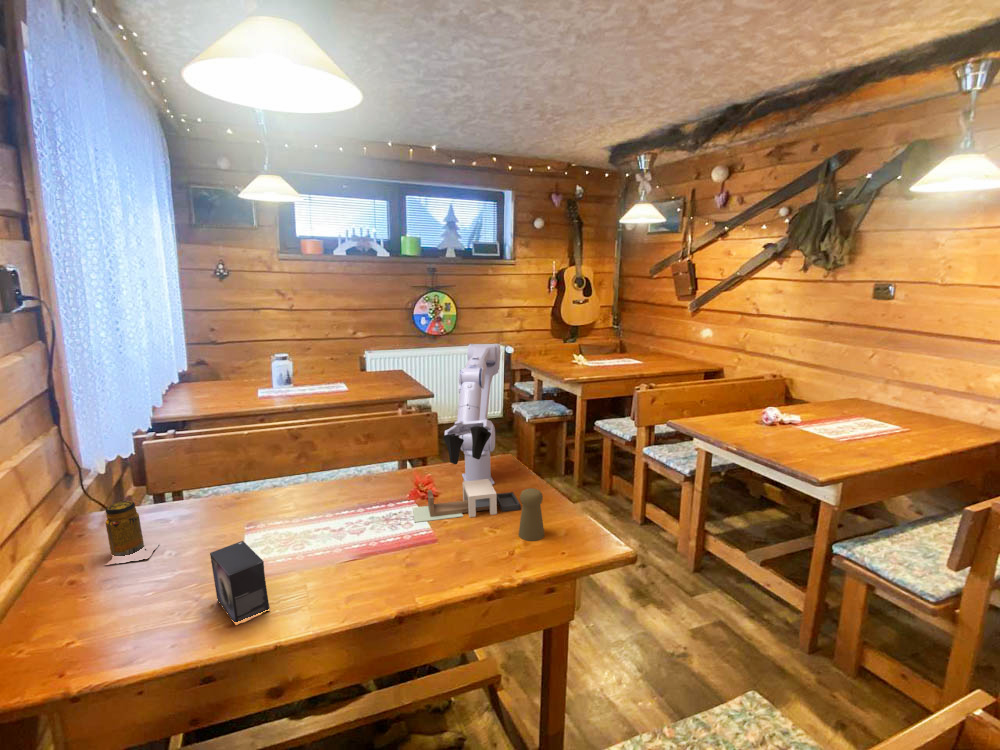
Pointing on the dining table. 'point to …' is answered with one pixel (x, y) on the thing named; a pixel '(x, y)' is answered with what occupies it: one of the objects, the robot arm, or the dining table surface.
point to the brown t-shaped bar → (454, 506)
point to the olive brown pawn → (531, 515)
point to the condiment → (123, 528)
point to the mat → (424, 515)
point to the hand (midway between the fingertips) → (464, 460)
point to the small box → (239, 581)
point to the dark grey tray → (508, 502)
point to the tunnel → (479, 495)
